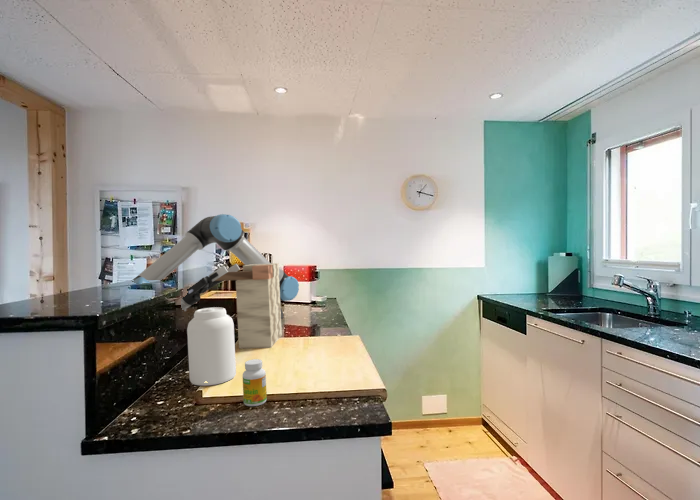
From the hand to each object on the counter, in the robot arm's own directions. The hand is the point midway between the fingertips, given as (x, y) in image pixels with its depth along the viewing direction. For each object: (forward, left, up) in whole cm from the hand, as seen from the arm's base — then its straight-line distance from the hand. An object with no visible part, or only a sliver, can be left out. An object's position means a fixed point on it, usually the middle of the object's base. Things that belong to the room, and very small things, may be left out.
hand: (232, 267), depth 143 cm
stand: (-5, +9, -30) cm, 31 cm away
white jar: (+35, +6, -30) cm, 47 cm away
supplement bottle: (+52, +23, -30) cm, 65 cm away
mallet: (0, +4, -5) cm, 6 cm away
